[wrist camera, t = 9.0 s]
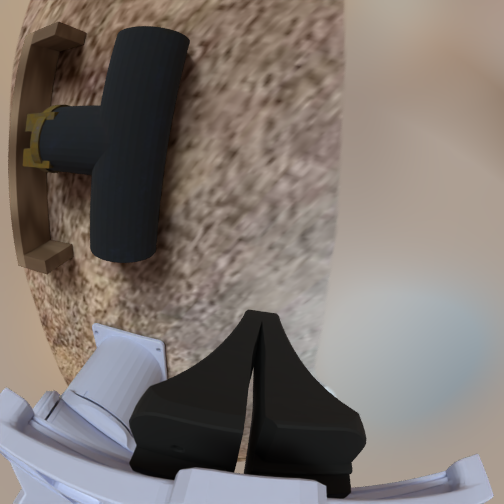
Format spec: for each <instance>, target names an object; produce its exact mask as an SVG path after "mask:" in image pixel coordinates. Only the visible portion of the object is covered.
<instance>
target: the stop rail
mask: <svg viewBox="0 0 504 504" xmlns="http://www.w3.org/2000/svg"><path fill="white" fill-rule="evenodd" d="M85 37H86V33H85V32H83V31H81V30H78V29H76V28H73V27H71V26H68V25H66V24H63V23H61V22H56V23H54V24H51V25H49V26H46V27H44V28H42V29H39V30H37V31H35V32H33V33H31V34H28V35H26V37H25V40H24V44H23V48H22V52H21V56H20V61H19V65H18V70H17V75H16V81H15V87H14V93H13V100H12V109H11V118H10V131H9V154H8V174H9V198H10V210H11V220H12V229H13V236H14V243H15V249H16V255H17V260H18V265H19V266H21V267H24V268H28V269H31V270H34V271H37V272H41V273H44V274H48V273H50V272H51V271H53V270H54V269H56V268H57V267H59V266H60V265H61V264H63V263H64V262H66V261H67V260H69V259H70V258H72V257H73V248H72V244H68V243H63V242H58V241H53V240H50V230H49V219H48V205H47V172H44V171H42V170H40V169H39V168H37V167H25V166H23V152H24V149H27V148H30V140H31V134H32V131H26V132H25V129H26V121H27V114H34V113H43V112H44V110H46V109H47V108H49V107H50V105H51V97H52V90H53V83H54V77H55V72H56V67H57V62H58V57H59V52H60V51H63V50H66V49H70V48H73V47H77V46H81V45H84V41H85Z"/></svg>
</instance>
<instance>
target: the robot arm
mask: <svg viewBox="0 0 504 504" xmlns="http://www.w3.org/2000/svg"><path fill="white" fill-rule="evenodd" d="M92 329H93V333H94V338H95V342H96V346H97V349H96V350H95V352H94V353H93V354H92V355H91V357H90V358H89V359H88V361H87V362H86V363H85V365H84V366H83V367H82V369H81V370H80V371H79V373H78V374H77V375H76V377H75V378H74V379H73V381H72V382H71V384H70V385H69V386H68V388H67V389H66V390H65V392H64V393H63V394H62V395H61V396H60V394H58V392H57V391H53V392H52V391H46V393H45V394H44V395H43V396H42V397H41V399H40V400H39V401H38V403H37V404H36V405H35V407H34V408H33V409H32V408H31V406H30V405H29V404H28V402H27V401H26V400H25V399H24V398H22V397H21V396H19V395H18V394H16V393H15V392H13V391H12V390H10V389H9V388H5V389H4V390H3V391H2V393H1V394H0V453H1V454H2V455H3V456H4V457H5V458H6V459H7V460H8V461H10V463H11V466H12V468H13V470H14V472H15V474H16V476H17V478H18V481H19V482H20V485H21V487H22V489H21V491H20V492H19V494H18V495H17V497H16V499H15V500H14V502H13V504H484V503H486V502H487V501H488V500H490V499H491V498H493V496H494V495H493V492H492V489H491V486H490V483H489V480H488V477H487V475H486V472H485V469H484V467H483V464H482V461H481V459H480V456H479V454H475V455H472V456H469V457H465V458H463V459H460V460H458V461H456V462H455V463H453V464H452V465H451V466H450V467H449V468H448V469H447V470H446V471H443V472H439V473H435V474H431V475H427V476H423V477H419V478H414V479H410V480H405V481H399V482H394V483H387V484H381V485H373V486H365V487H355V488H351V485H350V476H349V474H351V473H352V463H351V462H352V461H353V460H354V459H355V458H356V457H357V455H358V454H359V453H360V452H361V451H362V450H363V448H364V446H365V444H366V435H365V430H364V427H363V424H362V421H361V419H360V416H359V414H358V413H357V412H355V411H354V410H353V409H351V408H349V407H348V406H347V405H345V404H343V403H342V402H341V401H339V400H338V399H337V398H336V397H334V396H333V395H332V394H331V393H329V392H328V391H327V390H326V389H325V388H324V387H323V386H322V385H321V384H320V383H319V382H318V381H317V380H316V379H315V378H314V377H313V376H312V374H311V373H310V372H309V371H308V370H307V368H306V367H305V366H304V364H303V363H302V362H301V360H300V359H299V357H298V355H297V354H296V352H295V351H294V349H293V347H292V345H291V343H290V342H289V340H288V338H287V336H286V334H285V331H284V329H283V327H282V324H281V322H280V319H279V316H278V315H277V314H275V313H268V312H261V311H255V310H247V311H246V312H245V314H244V316H243V318H242V319H241V321H240V322H239V324H238V325H237V327H236V328H235V329H234V330H233V332H232V333H231V334H230V335H229V336H228V337H227V338H226V339H225V340H224V342H223V343H222V344H221V345H220V346H219V347H218V348H216V349H215V350H214V351H213V352H212V353H211V354H209V355H208V356H207V357H206V358H204V359H203V360H201V361H200V362H199V363H197V364H196V365H194V366H193V367H191V368H189V369H188V370H186V371H184V372H182V373H180V374H178V375H176V376H174V377H172V378H170V379H167V368H166V357H165V345H164V343H163V342H162V341H160V340H157V339H153V338H149V337H145V336H141V335H137V334H133V333H130V332H126V331H122V330H119V329H115V328H112V327H108V326H105V325H102V324H98V323H94V324H93V325H92ZM97 331H98V332H97ZM158 348H159V349H158ZM160 349H161V350H160ZM253 367H254V373H253V412H252V421H251V428H250V436H249V443H248V449H247V456H246V464H245V469H244V474H240V473H234V471H235V467H236V463H237V458H238V454H239V449H240V445H241V440H242V435H243V430H244V423H245V416H246V406H247V397H248V388H249V383H250V379H251V375H252V371H253ZM59 396H60V397H59Z"/></svg>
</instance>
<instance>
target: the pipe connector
mask: <svg viewBox="0 0 504 504" xmlns="http://www.w3.org/2000/svg"><path fill="white" fill-rule="evenodd" d="M189 43H190V40H189V39H188V38H187V37H186V36H185V35H183V34H181V33H179V32H177V31H174V30H170V29H166V28H161V27H151V26H139V27H131V28H127V29H124V30H121V31H120V32H119V33H118V35H117V38H116V41H115V45H114V49H113V52H112V56H111V60H110V64H109V68H108V72H107V76H106V81H105V85H104V90H103V95H102V101H101V106H68V105H55V106H51V107H49V108H47V109H46V110H44V112H43V113H34V114H27V121H26V129H25V132H26V131H32V134H31V140H30V148H27V149H24V152H23V166H25V167H37V168H39V169H40V170H42V171H44V172H51V173H58V172H70V173H78V174H86V175H92V182H91V203H90V249H91V252H92V253H93V254H94V255H95V256H96V257H98V258H100V259H103V260H106V261H110V262H118V263H129V262H137V261H142V260H145V259H147V258H149V257H151V256H152V255H154V253H155V252H156V242H157V229H158V218H159V208H160V199H161V190H162V182H163V174H164V167H165V160H166V153H167V147H168V141H169V135H170V129H171V123H172V118H173V113H174V107H175V102H176V98H177V93H178V88H179V83H180V79H181V75H182V70H183V66H184V62H185V58H186V54H187V50H188V46H189Z"/></svg>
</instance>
